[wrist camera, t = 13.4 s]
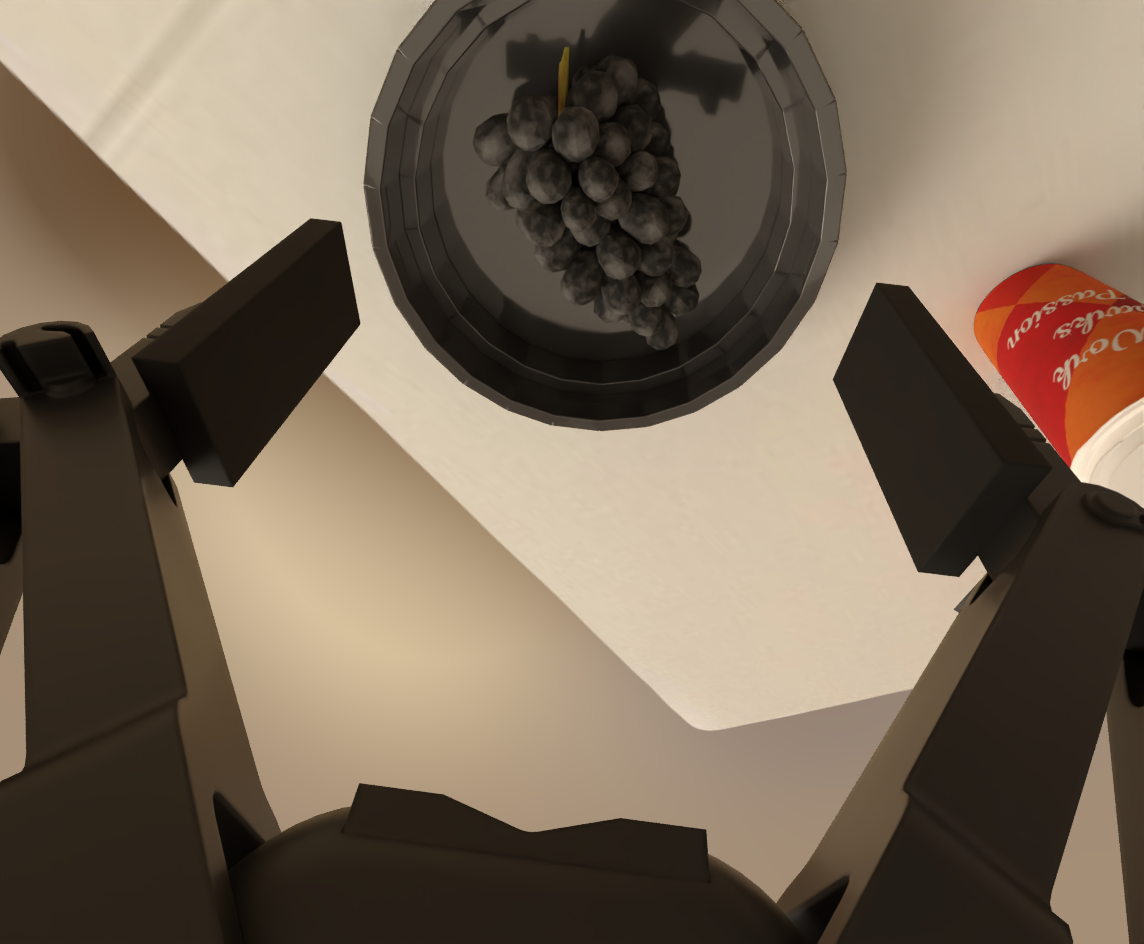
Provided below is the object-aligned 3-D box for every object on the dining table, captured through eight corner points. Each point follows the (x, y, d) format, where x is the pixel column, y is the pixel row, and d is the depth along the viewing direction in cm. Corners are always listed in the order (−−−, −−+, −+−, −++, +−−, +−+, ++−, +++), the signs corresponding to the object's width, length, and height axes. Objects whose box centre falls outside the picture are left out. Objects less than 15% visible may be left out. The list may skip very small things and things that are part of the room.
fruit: (716, 399, 27) (579, 50, 19) (573, 418, 32) (410, 145, 23) (748, 299, 32) (652, -13, 24) (620, 328, 37) (501, 76, 28)
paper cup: (1130, 228, 30) (1398, 369, 19) (1085, 356, 35) (1280, 525, 24) (962, 261, 32) (1123, 406, 21) (941, 378, 36) (1063, 544, 26)
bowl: (889, -36, 24) (947, -37, 20) (743, 394, 38) (757, 450, 34) (379, -94, 24) (320, -109, 20) (423, 355, 38) (395, 406, 34)
